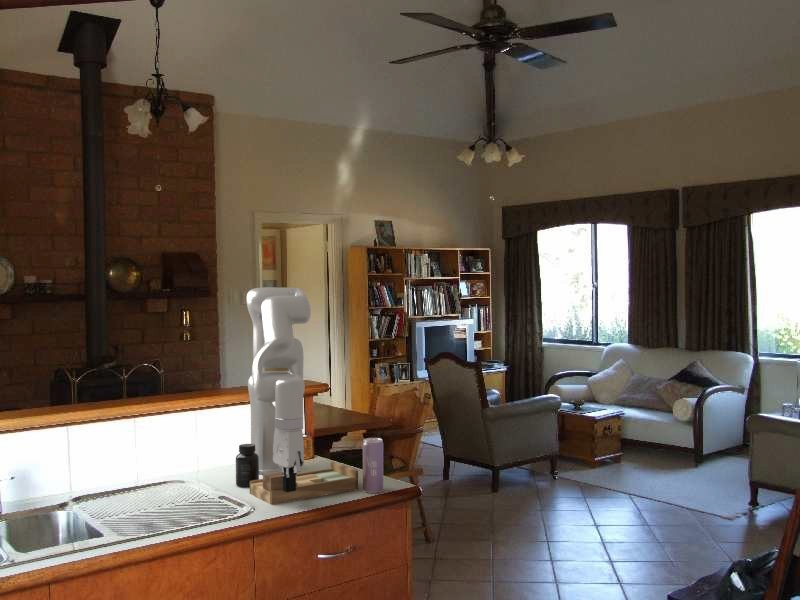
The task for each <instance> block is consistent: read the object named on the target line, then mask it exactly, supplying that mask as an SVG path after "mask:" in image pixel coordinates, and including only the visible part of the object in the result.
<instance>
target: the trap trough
mask: <svg viewBox="0 0 800 600" xmlns="http://www.w3.org/2000/svg"><path fill="white" fill-rule="evenodd" d="M354 489H357V490H359V470H358V469H354V468H352V467H349V466H347V465H344V464H341V463H339V462H336V461H331V462H330V468H324V469H317V470H311V471H306V472H305V471H304V472H299V473H297V476H296V491H292V492H285V491H283V489H278V490H272V491H270V492H269V491H267V490H265V489H263V478H259V480H253V481H250V487H249V494H250V495H252V496H254V497H256V498H258V499H260V500H262V501H264V502H266V503H267V504H270V505H278V504H284V503H289V501H290V502H293V501H294V500H295V501H299V500H305V499H306V498H307V499H311V498H310V497H312V498H317V497H316V496H318V497H322V496H321V495H323V496H327V495H326V494H329V495H333V494H332V493H335V494H339V493H338V492H340V493H344V492H343V491H346V492H350V491H349V490H351V491H355V490H354ZM295 501H294V502H295Z"/></svg>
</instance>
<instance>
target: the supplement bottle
mask: <svg viewBox="0 0 800 600" xmlns="http://www.w3.org/2000/svg"><path fill="white" fill-rule="evenodd" d="M255 451H256V449H255V444H251V443H242V444H239V446H238V452H239V453H238V454H237V455H236V456H235V485H236V486H237V487H239V488H250V481H253V480H259V479H260V474H259V456H258V455H257V454H256V453H255Z"/></svg>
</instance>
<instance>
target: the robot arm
mask: <svg viewBox="0 0 800 600" xmlns="http://www.w3.org/2000/svg"><path fill="white" fill-rule="evenodd" d="M246 307H247V310H248V314H249V315H250V318H251V321H252V322H251V323H252V327H253V329H252V331H253V332H252V357H253V361H252V366H251V375H250V376H249V378H248V380H247V389H248V398H249V404H250V407H249V408H250V444H255V449H256V451H255V453H256V454H257V455H258V456H259V475H263V474H267V473H274V472H280V471H282V476H284V477H283V491H285V492H292V491H296V476H297V473H302V472H301V471H302V469H301V467H303V466H304V464H305V444H304V442H305V441H304V434H303V430H304V395H305V389H306V387H305V385H306V384H305V380H304V346H303V344H302V341H301V340H300V339H298V338H296V337H294V331H293V330H294V329H293V325H300V324H307V323H308V322H309V321H310V319H311V316H312V315H311V314H312V312H311V311H312V309H311V304H310V300H309V298H308V297H307V295H306V293H305V292H304V291H303V290H302V289H301V288H299V287H275V286H274V287H273V286H272V287H267V286H265V287H256V288H251V289H250V290H248V292H247V293H246ZM279 368H280V369H281V368H282V369H283V368H287V369H288V370H272V371H271V370H269V371H267V370H266V371H263V369H279ZM273 403H275V404H273Z"/></svg>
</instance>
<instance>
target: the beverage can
mask: <svg viewBox="0 0 800 600" xmlns="http://www.w3.org/2000/svg"><path fill="white" fill-rule="evenodd" d="M362 490H363V492H364V491H365V492H364V493H366V492H368V493H367V494H378V493H377V492H380V493H381V491H382V492H383V490H384V442H383V439H382V438H381V437H367V438H364V439H363V440H362Z"/></svg>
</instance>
